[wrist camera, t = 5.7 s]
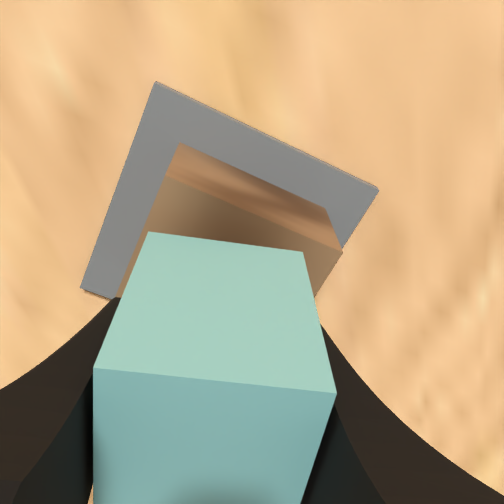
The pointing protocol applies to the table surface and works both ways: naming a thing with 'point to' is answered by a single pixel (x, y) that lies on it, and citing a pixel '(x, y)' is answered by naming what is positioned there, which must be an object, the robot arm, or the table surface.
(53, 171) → the table surface
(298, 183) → the mat
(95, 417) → the teal block
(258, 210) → the walnut block
